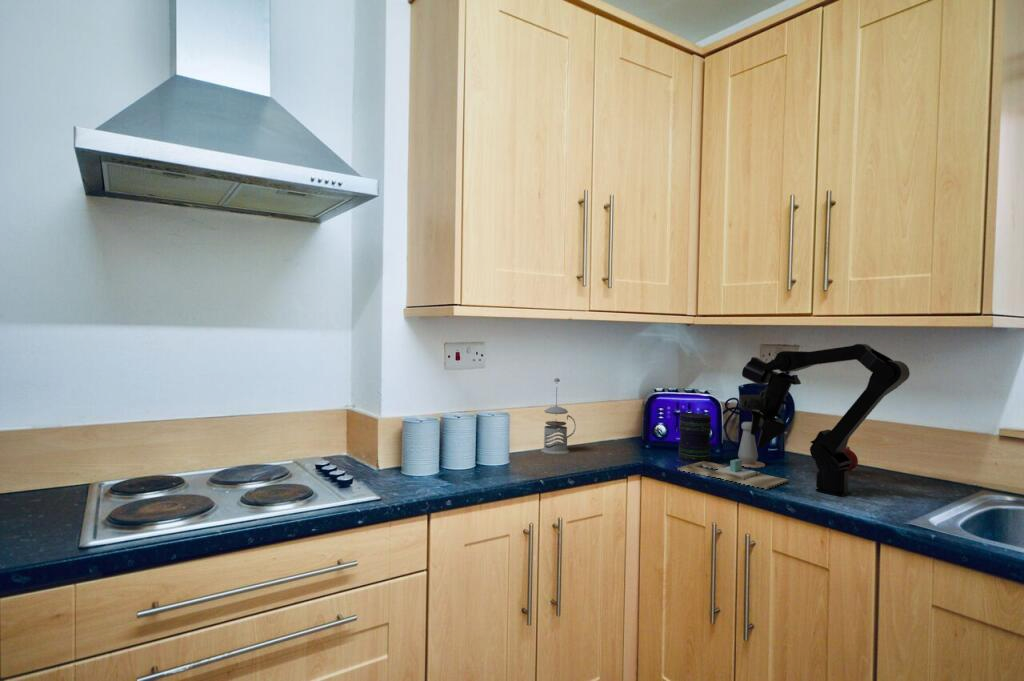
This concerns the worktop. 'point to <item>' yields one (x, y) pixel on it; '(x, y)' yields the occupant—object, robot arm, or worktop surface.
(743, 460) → the salt shaker
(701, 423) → the storage jar
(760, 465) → the pad
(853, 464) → the onion
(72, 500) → the worktop surface
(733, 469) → the cover
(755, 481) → the board
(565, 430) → the french press
